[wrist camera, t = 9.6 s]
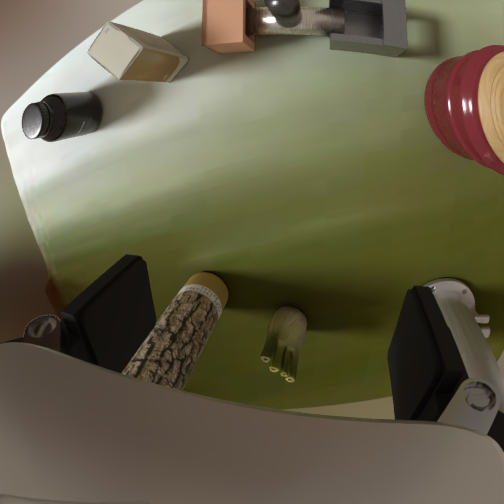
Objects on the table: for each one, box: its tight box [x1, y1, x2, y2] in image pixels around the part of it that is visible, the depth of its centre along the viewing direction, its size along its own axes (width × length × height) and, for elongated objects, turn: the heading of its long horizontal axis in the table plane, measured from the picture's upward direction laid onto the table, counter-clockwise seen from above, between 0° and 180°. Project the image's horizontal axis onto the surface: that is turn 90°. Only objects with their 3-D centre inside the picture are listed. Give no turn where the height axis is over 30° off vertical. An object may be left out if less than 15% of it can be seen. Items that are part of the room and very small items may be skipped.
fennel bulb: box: [261, 306, 307, 382], centre depth 42 cm, size 6×5×12 cm
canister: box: [425, 45, 504, 175], centre depth 21 cm, size 13×13×18 cm
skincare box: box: [87, 22, 189, 82], centre depth 30 cm, size 6×4×12 cm
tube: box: [245, 0, 345, 36], centre depth 25 cm, size 12×4×10 cm, turn 89°
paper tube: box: [121, 272, 228, 391], centre depth 38 cm, size 7×7×25 cm
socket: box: [202, 0, 255, 53], centre depth 29 cm, size 4×7×6 cm, turn 179°
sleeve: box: [329, 0, 408, 57], centre depth 26 cm, size 8×6×6 cm
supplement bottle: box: [22, 92, 102, 142], centre depth 35 cm, size 7×7×12 cm
